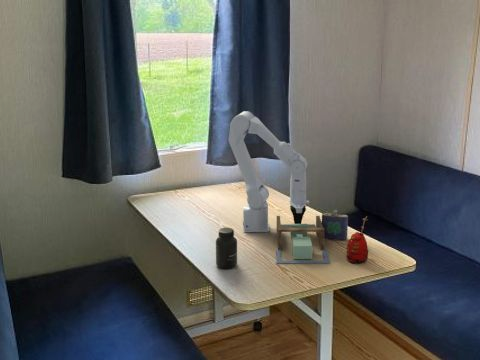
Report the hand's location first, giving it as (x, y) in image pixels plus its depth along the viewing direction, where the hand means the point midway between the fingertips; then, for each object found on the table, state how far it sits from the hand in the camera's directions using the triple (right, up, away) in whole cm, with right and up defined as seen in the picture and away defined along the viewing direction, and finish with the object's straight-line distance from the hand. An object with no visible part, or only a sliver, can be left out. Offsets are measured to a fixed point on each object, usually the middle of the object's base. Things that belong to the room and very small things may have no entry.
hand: (297, 225), depth 197 cm
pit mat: (0, -1, +4) cm, 5 cm away
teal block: (-1, -6, -14) cm, 15 cm away
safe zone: (-1, -8, -20) cm, 22 cm away
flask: (+12, -4, -6) cm, 14 cm away
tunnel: (0, -5, -8) cm, 9 cm away
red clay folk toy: (+17, -9, -24) cm, 30 cm away
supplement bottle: (-25, -11, -26) cm, 38 cm away
